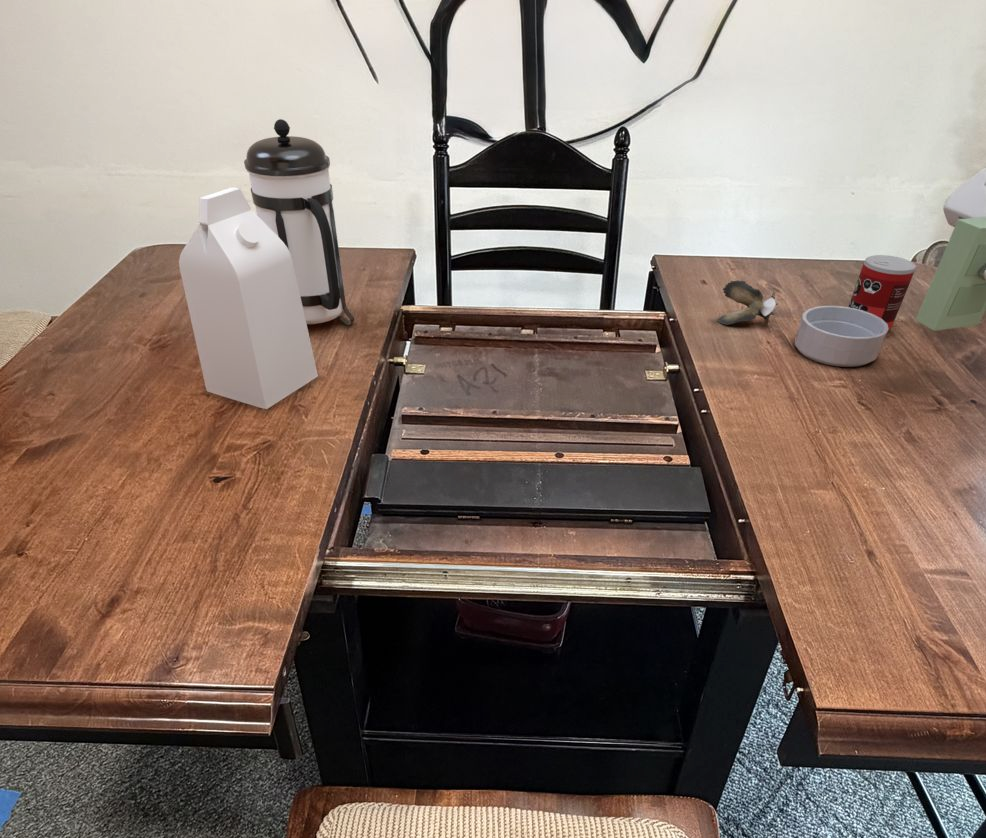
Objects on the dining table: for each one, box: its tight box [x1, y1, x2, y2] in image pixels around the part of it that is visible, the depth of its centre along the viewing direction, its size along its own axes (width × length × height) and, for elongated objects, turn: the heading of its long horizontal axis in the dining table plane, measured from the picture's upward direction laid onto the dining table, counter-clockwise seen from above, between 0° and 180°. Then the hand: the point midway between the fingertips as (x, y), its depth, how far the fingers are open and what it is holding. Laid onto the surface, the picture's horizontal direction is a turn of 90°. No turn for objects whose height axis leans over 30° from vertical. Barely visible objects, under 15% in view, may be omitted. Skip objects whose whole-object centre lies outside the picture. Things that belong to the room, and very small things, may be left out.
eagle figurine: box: [716, 279, 779, 325], centre depth 125 cm, size 8×7×9 cm
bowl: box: [794, 305, 890, 368], centre depth 117 cm, size 13×13×5 cm
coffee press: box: [243, 118, 355, 327], centre depth 115 cm, size 17×16×30 cm
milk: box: [178, 186, 319, 410], centre depth 99 cm, size 12×12×26 cm
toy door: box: [914, 217, 986, 332], centre depth 87 cm, size 4×7×12 cm, turn 107°
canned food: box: [847, 254, 917, 334], centre depth 122 cm, size 8×8×11 cm
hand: (967, 270), depth 87 cm, fingers closed on toy door, 4 cm apart
